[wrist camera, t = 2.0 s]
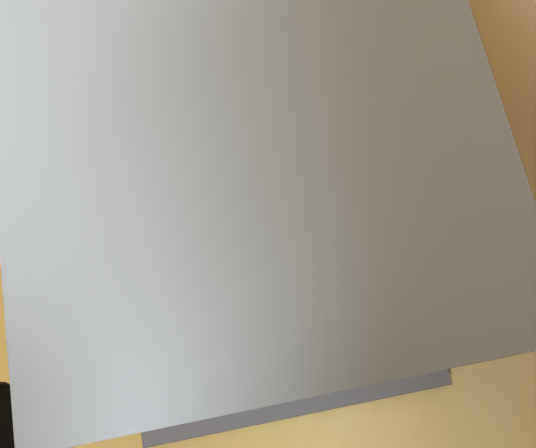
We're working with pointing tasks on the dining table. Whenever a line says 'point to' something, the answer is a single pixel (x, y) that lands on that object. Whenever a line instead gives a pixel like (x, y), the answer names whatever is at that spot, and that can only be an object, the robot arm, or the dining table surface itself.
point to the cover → (249, 207)
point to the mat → (295, 408)
